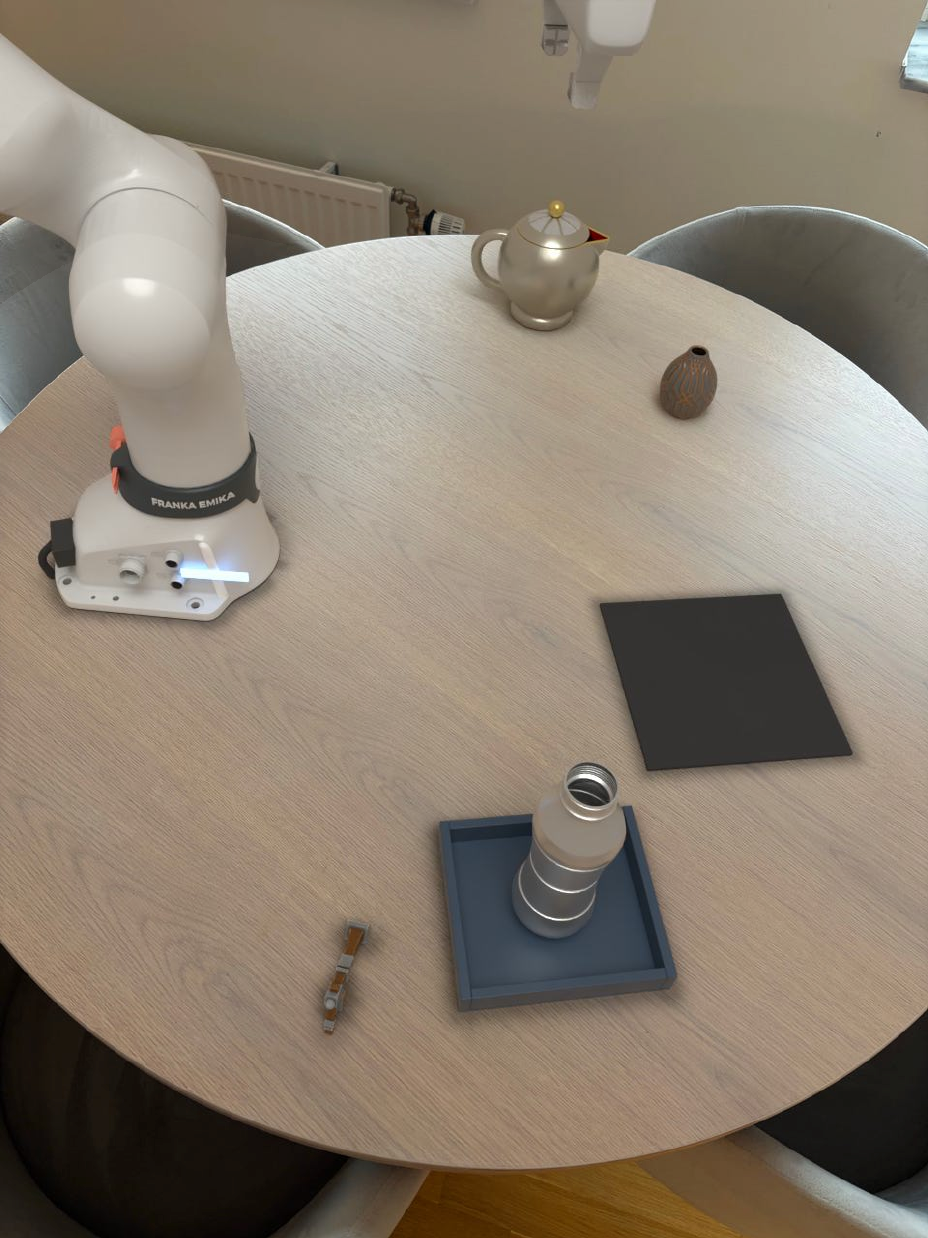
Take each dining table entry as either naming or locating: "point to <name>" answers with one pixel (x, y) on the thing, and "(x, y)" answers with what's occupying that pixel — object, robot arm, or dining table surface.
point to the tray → (532, 964)
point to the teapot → (543, 265)
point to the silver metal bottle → (569, 850)
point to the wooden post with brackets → (343, 972)
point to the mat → (720, 682)
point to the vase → (689, 383)
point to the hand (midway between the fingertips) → (566, 77)
